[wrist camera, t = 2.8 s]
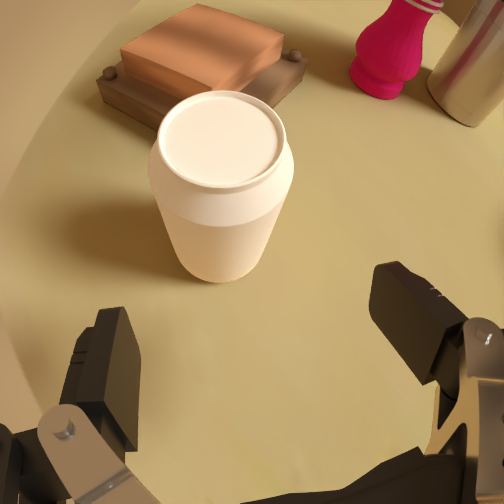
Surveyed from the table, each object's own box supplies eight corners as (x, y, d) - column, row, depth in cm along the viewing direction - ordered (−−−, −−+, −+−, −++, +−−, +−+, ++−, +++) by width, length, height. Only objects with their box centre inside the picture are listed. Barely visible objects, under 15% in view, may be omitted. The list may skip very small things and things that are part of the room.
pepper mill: (393, 113, 29) (482, -35, 10) (335, 78, 30) (396, -80, 11) (408, 85, 32) (480, -39, 13) (357, 54, 32) (411, -77, 13)
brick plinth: (196, 34, 31) (196, -7, 25) (301, 81, 29) (315, 35, 24) (103, 101, 26) (88, 56, 21) (216, 166, 25) (217, 115, 19)
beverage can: (233, 190, 24) (247, 65, 13) (279, 257, 23) (335, 160, 12) (160, 229, 23) (118, 115, 11) (203, 303, 21) (185, 238, 10)
